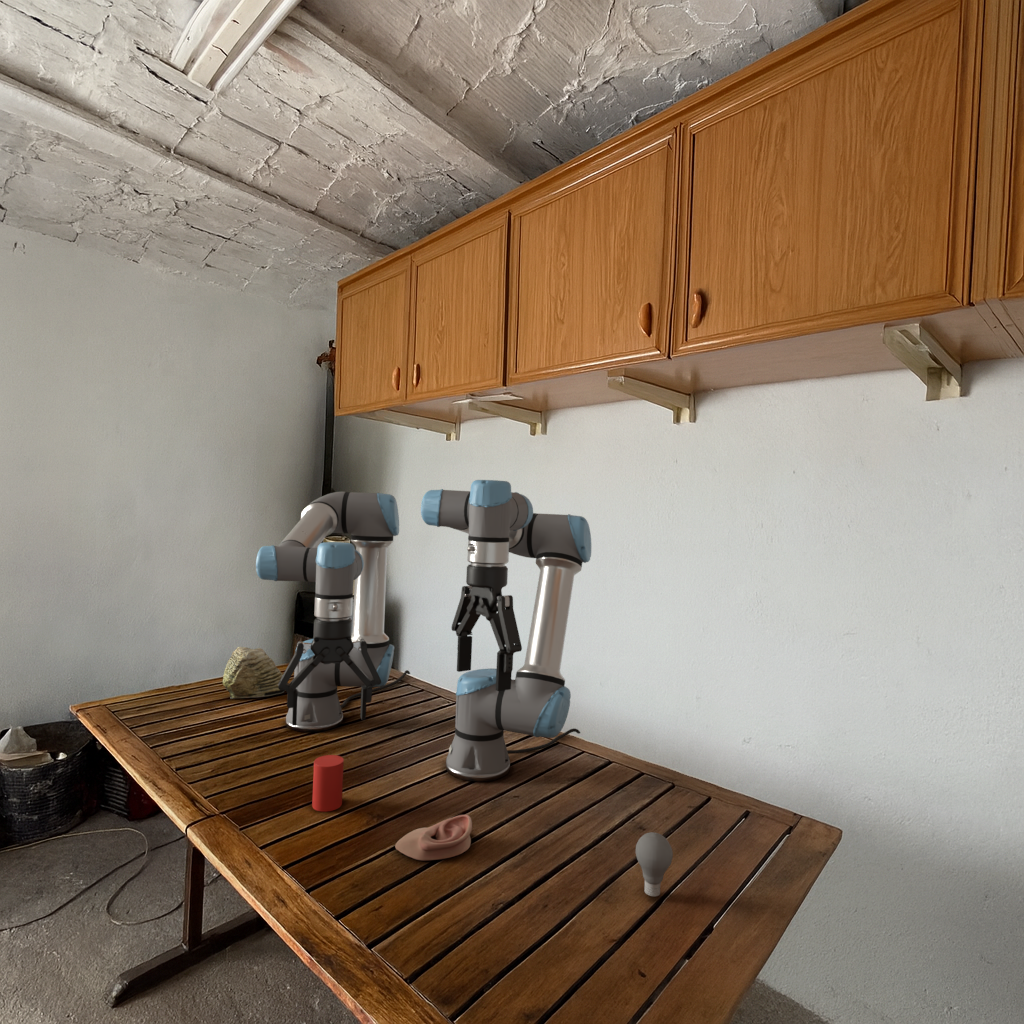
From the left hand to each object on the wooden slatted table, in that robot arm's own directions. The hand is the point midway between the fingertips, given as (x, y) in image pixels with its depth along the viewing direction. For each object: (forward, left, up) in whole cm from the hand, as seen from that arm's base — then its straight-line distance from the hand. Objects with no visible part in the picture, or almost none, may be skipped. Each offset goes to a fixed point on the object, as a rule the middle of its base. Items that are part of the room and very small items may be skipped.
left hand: (329, 720), depth 130 cm
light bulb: (-18, +64, -17) cm, 69 cm away
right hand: (-9, +33, +14) cm, 37 cm away
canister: (0, 0, -17) cm, 17 cm away
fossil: (-26, -75, -17) cm, 82 cm away
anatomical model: (-4, +27, -17) cm, 33 cm away
